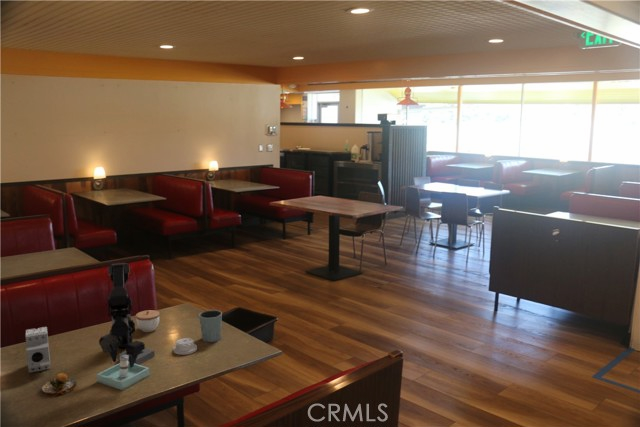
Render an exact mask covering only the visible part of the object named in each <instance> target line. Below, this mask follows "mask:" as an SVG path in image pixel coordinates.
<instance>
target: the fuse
mask: <svg viewBox="0 0 640 427" xmlns="http://www.w3.org/2000/svg"><path fill="white" fill-rule="evenodd" d="M128 358H129V356H128V355H121V356H120V361H119V363H120V373H119V377H120V378H126V377H128Z"/></svg>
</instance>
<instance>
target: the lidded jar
mask: <svg viewBox="0 0 640 427" xmlns="http://www.w3.org/2000/svg"><path fill="white" fill-rule="evenodd" d="M135 319H136V325H137V327H138V329H139V330H141V331H142V332H143V333H149V332H154V331H155V330H156V329H157V327H158V326H159V323H160V312H159V311H158V310H154V309H149V310H147V309H146V310H143V311H139V312H138V313H136V314H135Z"/></svg>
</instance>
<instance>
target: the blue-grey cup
mask: <svg viewBox="0 0 640 427" xmlns="http://www.w3.org/2000/svg"><path fill="white" fill-rule="evenodd" d="M198 317H199V324H200V330H201V331H200V332H201V339H202V341H203V342H205V343H215V342H219V341H220V340H221V339H222V322H223V321H222V320H223V319H222V318H223V312H222V311H221V310H218V309H207V310H203V311H201V312H200V313H199V314H198Z"/></svg>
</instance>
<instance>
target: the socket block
mask: <svg viewBox="0 0 640 427" xmlns="http://www.w3.org/2000/svg"><path fill="white" fill-rule="evenodd" d="M126 353H127V352H126V351H124V352H122V353H120V354H118V361H119V362H120V356H121V355H127V354H126ZM155 356H156V355H155V350H154V349H149V348H146V347H145V349H144V350H142V351H140V353H139V354H138V356H137V358H136V361H135V364H138V365H141V364H142V363H145V362H147V361H148V360H151V359H152V358H155ZM128 362H129V358H128Z"/></svg>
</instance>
